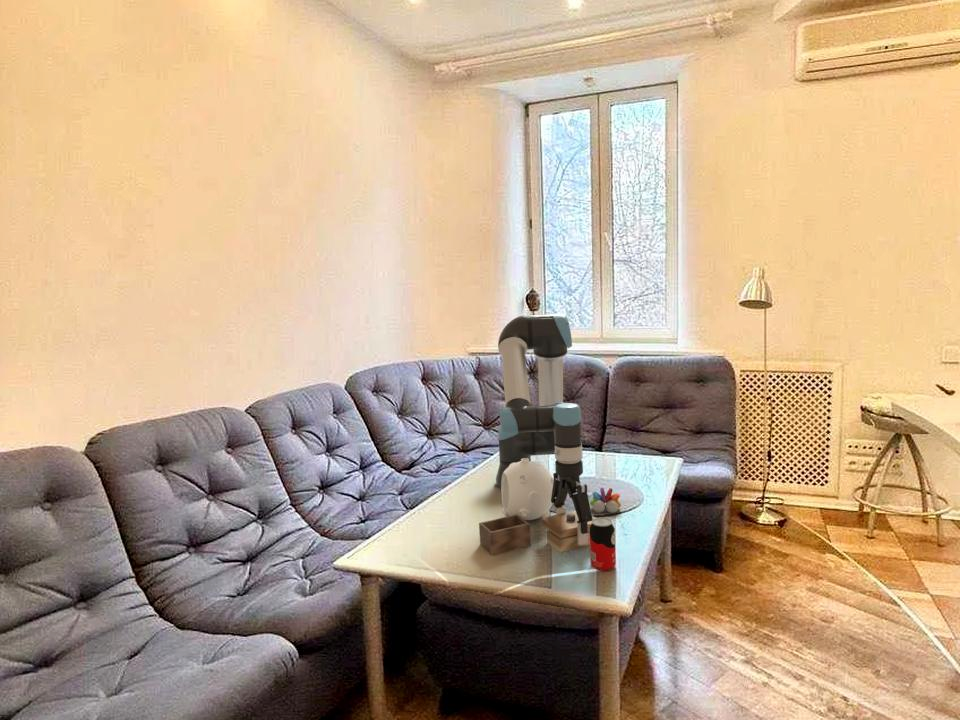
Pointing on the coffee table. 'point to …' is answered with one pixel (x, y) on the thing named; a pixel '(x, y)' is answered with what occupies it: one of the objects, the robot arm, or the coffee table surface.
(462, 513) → the coffee table surface
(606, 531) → the beverage can
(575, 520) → the lid
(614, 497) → the rainbow disc baby toy
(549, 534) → the light wooden block
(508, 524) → the box
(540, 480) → the decorative ball
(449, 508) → the coffee table surface
